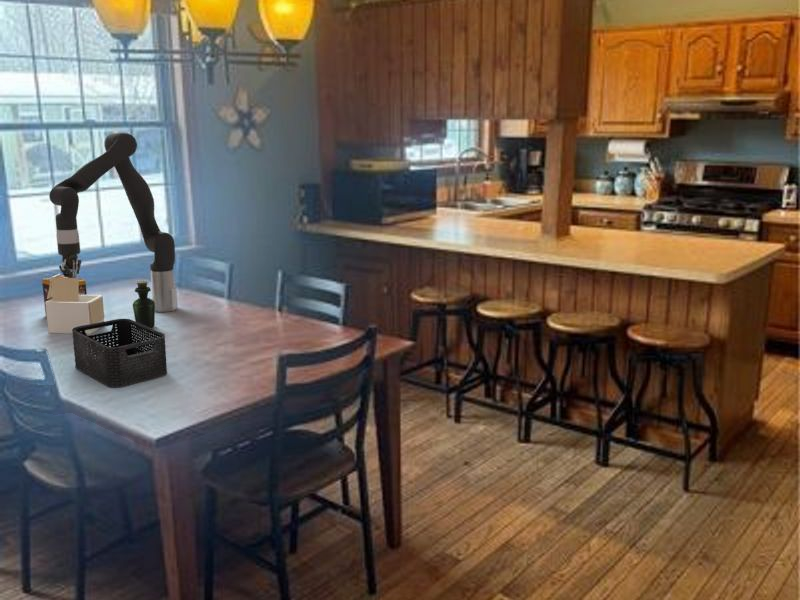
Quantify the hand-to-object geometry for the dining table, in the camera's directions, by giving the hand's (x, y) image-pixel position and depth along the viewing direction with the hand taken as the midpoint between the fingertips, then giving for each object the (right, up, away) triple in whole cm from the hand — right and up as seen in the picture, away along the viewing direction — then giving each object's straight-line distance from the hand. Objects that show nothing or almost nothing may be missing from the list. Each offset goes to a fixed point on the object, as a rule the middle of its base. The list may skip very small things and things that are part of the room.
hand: (72, 286), depth 267 cm
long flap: (-1, -1, -4) cm, 4 cm away
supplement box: (-13, -12, +23) cm, 29 cm away
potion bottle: (+24, -16, +9) cm, 30 cm away
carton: (-1, -16, +6) cm, 17 cm away
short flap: (-8, 0, +2) cm, 8 cm away
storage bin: (+33, -28, -39) cm, 58 cm away
